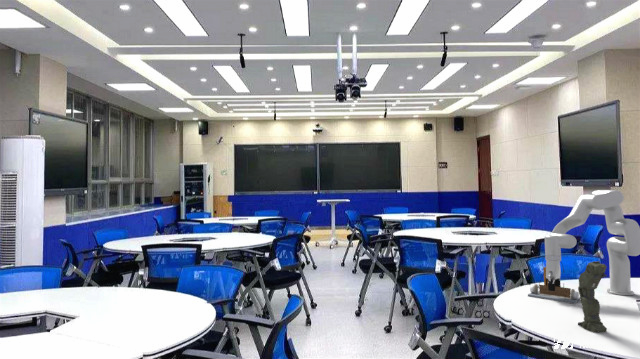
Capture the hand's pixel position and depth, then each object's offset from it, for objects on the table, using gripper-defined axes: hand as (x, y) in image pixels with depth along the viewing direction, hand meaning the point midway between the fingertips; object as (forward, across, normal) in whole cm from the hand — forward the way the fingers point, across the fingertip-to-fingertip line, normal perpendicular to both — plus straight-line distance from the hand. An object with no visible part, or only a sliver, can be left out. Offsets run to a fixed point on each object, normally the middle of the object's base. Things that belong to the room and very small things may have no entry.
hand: (554, 289), depth 231 cm
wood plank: (+4, 0, 0) cm, 4 cm away
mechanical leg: (+4, +46, +28) cm, 54 cm away
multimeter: (+5, -22, -6) cm, 23 cm away
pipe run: (+5, 0, 0) cm, 5 cm away
